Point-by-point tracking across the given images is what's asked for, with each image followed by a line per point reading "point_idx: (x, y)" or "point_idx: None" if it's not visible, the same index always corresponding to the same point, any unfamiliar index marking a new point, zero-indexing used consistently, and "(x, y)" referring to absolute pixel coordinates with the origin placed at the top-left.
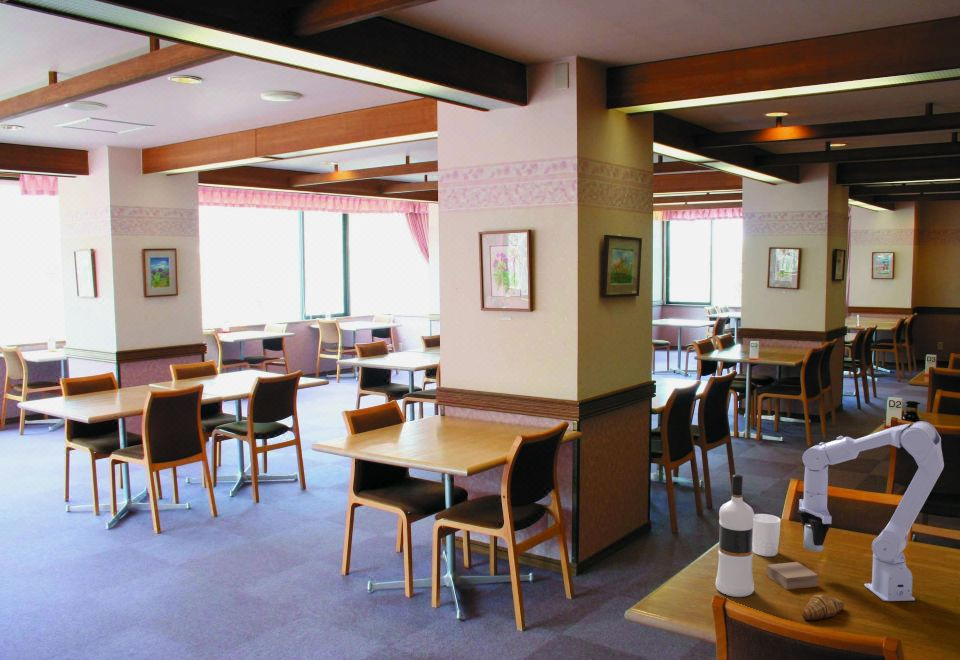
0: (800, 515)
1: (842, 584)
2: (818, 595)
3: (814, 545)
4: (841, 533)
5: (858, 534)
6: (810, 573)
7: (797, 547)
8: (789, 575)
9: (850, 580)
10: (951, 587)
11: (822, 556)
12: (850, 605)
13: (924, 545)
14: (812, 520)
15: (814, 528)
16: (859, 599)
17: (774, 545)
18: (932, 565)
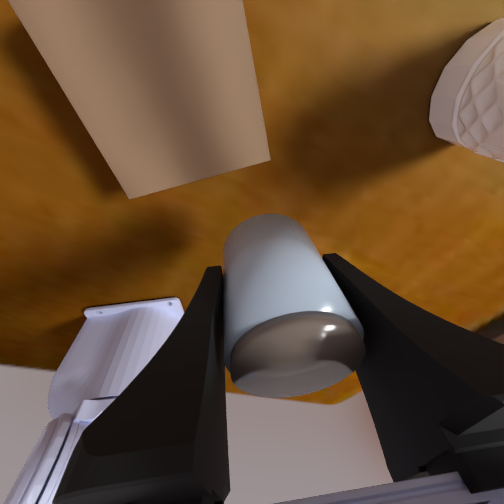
0: (463, 368)
1: (179, 256)
2: None
3: (225, 264)
4: (457, 325)
5: None
6: (136, 172)
7: (447, 224)
8: (62, 31)
9: None
10: None
11: (367, 264)
12: (7, 231)
13: (357, 391)
14: (100, 497)
15: (137, 376)
16: (76, 265)
17: (464, 120)
18: None
